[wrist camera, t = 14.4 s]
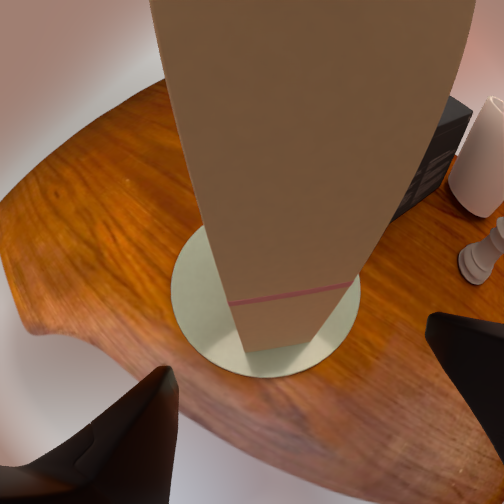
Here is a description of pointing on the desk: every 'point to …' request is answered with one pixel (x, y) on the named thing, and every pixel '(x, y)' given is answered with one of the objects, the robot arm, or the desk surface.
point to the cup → (481, 162)
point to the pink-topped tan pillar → (303, 138)
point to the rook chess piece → (482, 255)
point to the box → (437, 154)
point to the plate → (223, 327)
